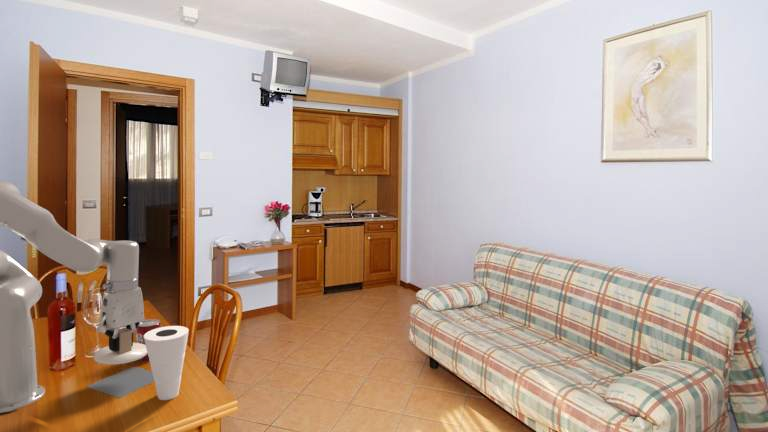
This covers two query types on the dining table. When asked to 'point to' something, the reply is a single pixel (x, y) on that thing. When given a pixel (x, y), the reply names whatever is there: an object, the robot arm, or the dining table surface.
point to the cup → (167, 358)
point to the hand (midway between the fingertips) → (121, 347)
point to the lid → (121, 350)
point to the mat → (124, 382)
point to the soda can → (144, 328)
